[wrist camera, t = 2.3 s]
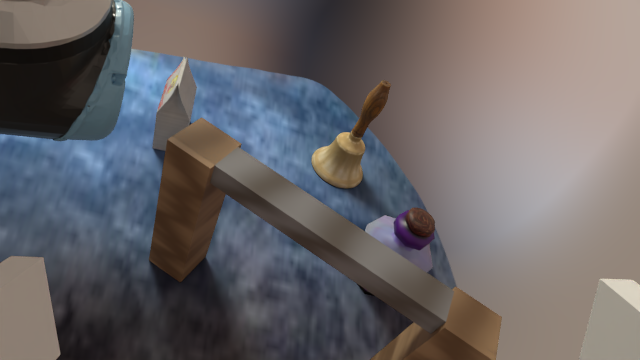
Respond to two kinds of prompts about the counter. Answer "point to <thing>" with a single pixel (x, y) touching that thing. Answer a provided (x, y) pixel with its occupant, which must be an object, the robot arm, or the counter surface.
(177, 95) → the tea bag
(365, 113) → the hand bell
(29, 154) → the counter surface
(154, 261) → the gate frame
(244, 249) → the counter surface
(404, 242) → the potion bottle
